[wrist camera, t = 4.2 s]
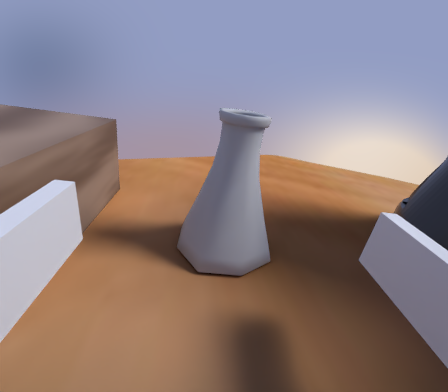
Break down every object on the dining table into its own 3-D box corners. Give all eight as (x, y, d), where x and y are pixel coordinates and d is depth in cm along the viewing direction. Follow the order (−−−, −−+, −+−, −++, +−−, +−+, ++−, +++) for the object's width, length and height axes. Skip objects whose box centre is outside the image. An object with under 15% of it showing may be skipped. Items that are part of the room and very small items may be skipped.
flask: (169, 223, 21) (175, 98, 16) (245, 218, 23) (267, 109, 19) (186, 288, 15) (203, 117, 10) (286, 271, 17) (332, 129, 13)
